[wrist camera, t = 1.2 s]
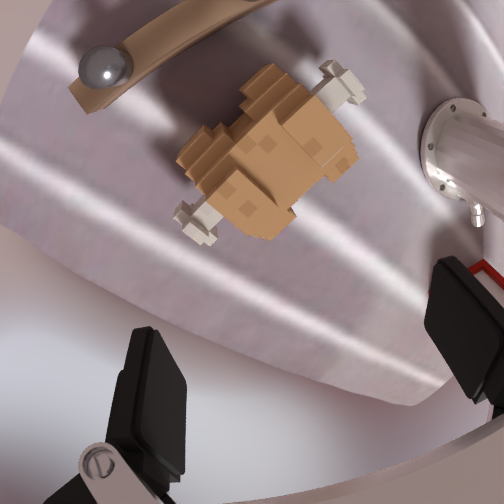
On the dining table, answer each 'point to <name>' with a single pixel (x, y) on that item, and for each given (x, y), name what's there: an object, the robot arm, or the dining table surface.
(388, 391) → the dining table surface
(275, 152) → the voxel meat on bone
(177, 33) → the rail
